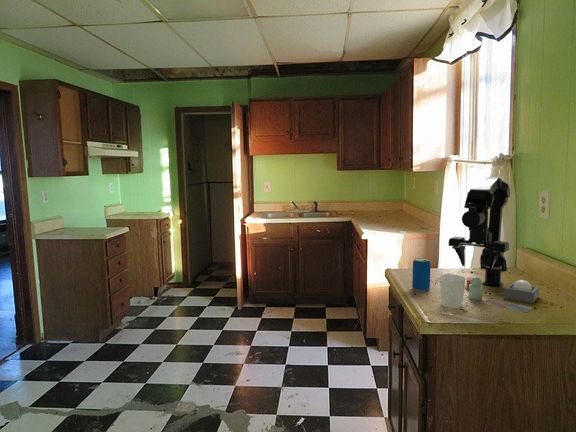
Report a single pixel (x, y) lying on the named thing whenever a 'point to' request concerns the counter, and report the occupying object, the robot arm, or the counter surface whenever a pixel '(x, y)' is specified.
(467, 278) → the red die
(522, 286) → the dome
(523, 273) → the counter surface
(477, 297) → the pawn
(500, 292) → the counter surface
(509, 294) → the grey square tray
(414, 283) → the beverage can
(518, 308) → the game track
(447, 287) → the white cup
